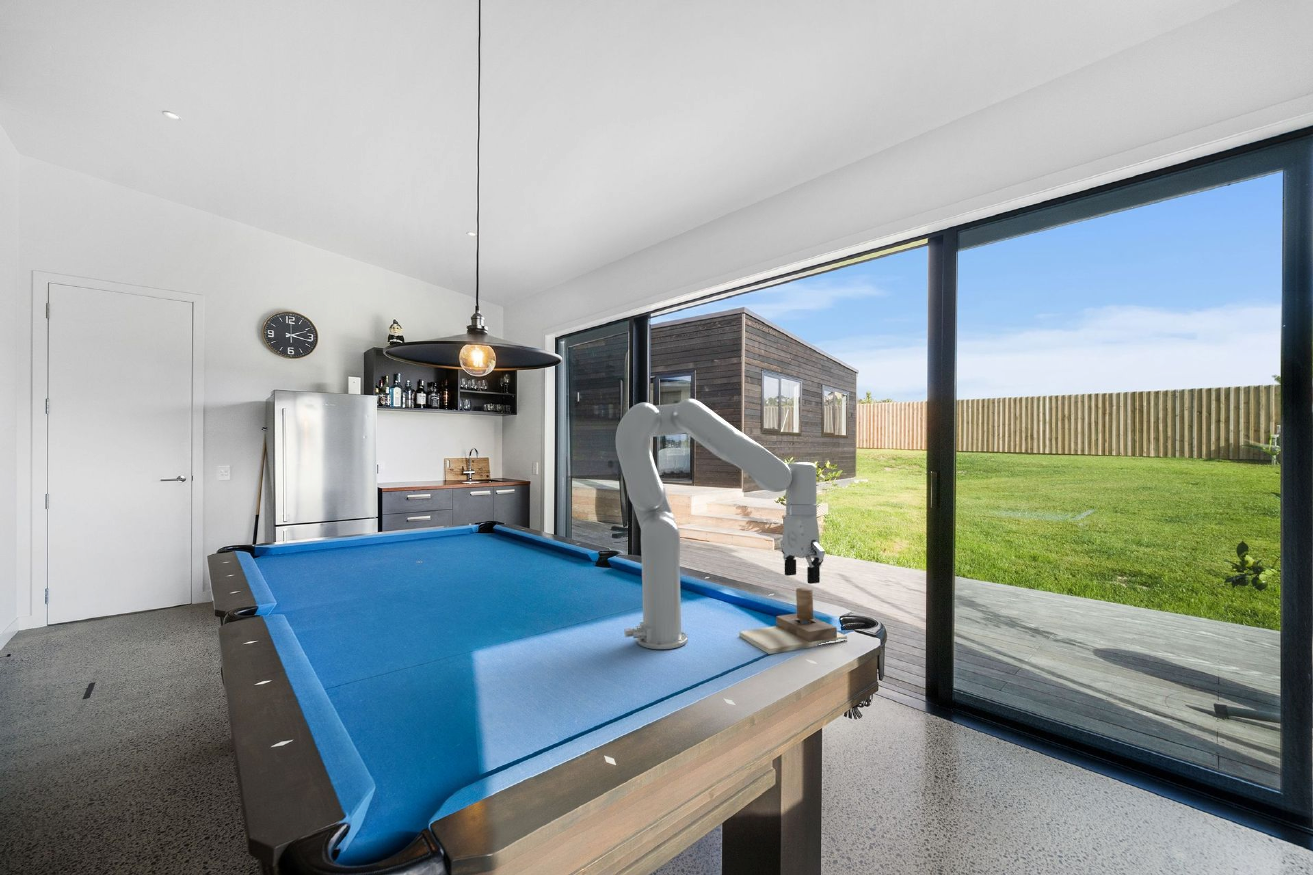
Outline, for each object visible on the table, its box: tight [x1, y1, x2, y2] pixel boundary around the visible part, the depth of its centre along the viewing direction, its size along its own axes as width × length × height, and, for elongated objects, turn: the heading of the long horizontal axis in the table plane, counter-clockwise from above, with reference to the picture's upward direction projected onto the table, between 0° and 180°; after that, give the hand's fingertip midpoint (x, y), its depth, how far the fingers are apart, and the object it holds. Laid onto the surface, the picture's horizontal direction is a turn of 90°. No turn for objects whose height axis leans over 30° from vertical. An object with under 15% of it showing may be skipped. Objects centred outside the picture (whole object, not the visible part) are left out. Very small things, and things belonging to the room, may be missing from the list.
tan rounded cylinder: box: [795, 587, 814, 625], centre depth 139 cm, size 4×4×10 cm
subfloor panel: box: [738, 612, 848, 655], centre depth 138 cm, size 22×14×4 cm, turn 111°
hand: (801, 578), depth 139 cm, fingers open, 9 cm apart
